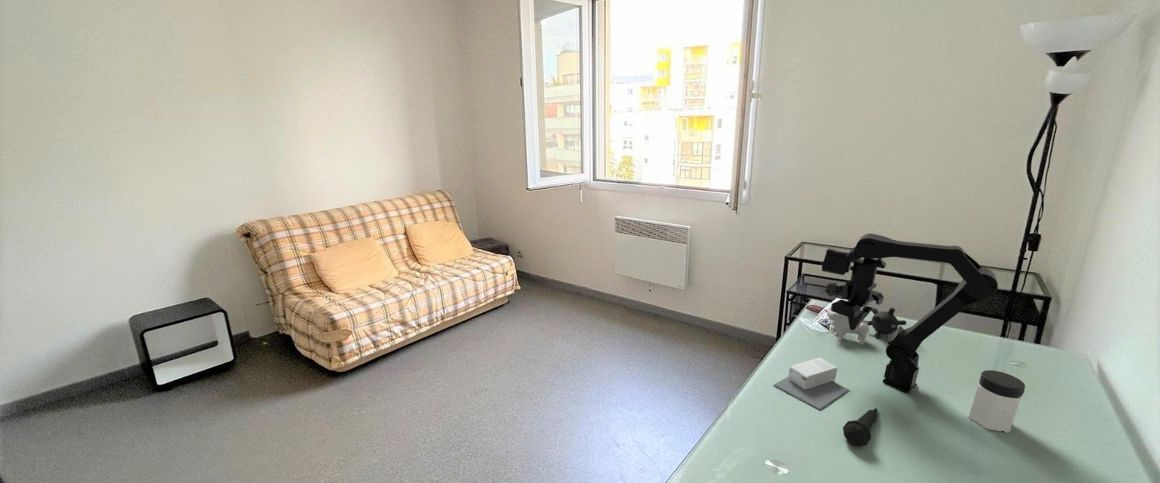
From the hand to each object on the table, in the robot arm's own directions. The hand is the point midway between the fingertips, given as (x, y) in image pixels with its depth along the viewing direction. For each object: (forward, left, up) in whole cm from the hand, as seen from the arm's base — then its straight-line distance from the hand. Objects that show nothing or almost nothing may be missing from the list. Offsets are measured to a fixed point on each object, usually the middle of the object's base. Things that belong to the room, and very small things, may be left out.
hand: (852, 329), depth 138 cm
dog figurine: (+9, -18, -13) cm, 24 cm away
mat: (0, +18, -12) cm, 22 cm away
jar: (-33, -5, -13) cm, 36 cm away
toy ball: (+3, -31, -13) cm, 34 cm away
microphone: (-17, +24, -13) cm, 32 cm away
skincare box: (0, +9, -10) cm, 13 cm away
